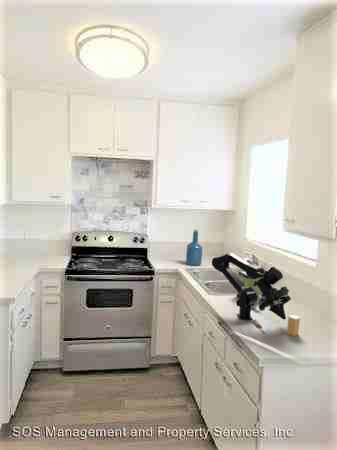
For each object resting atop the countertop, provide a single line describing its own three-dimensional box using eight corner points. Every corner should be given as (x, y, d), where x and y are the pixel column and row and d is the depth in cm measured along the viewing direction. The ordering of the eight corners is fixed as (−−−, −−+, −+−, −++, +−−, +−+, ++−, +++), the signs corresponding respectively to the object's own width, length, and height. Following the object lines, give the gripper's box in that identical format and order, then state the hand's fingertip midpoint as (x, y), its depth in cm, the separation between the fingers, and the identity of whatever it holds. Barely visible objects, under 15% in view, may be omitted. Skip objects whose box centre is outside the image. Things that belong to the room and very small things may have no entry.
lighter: (247, 307, 203) (248, 293, 202) (248, 306, 204) (249, 292, 204) (259, 310, 199) (260, 296, 198) (260, 309, 200) (262, 295, 200)
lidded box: (286, 333, 165) (288, 316, 164) (291, 331, 167) (292, 314, 166) (293, 336, 162) (295, 318, 161) (298, 334, 164) (300, 317, 164)
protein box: (236, 296, 224) (238, 271, 222) (258, 295, 228) (260, 271, 226) (244, 301, 214) (246, 275, 212) (267, 300, 218) (269, 275, 216)
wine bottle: (204, 265, 310) (206, 230, 307) (195, 267, 300) (198, 231, 297) (191, 262, 318) (193, 228, 315) (182, 264, 308) (184, 229, 305)
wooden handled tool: (251, 324, 177) (252, 319, 176) (256, 324, 177) (257, 319, 177) (261, 336, 163) (262, 331, 162) (266, 336, 163) (267, 331, 163)
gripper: (266, 283, 164) (285, 314, 157) (289, 278, 176) (308, 307, 169) (250, 295, 171) (268, 325, 164) (274, 290, 183) (291, 318, 175)
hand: (284, 319), depth 168 cm, fingers closed
